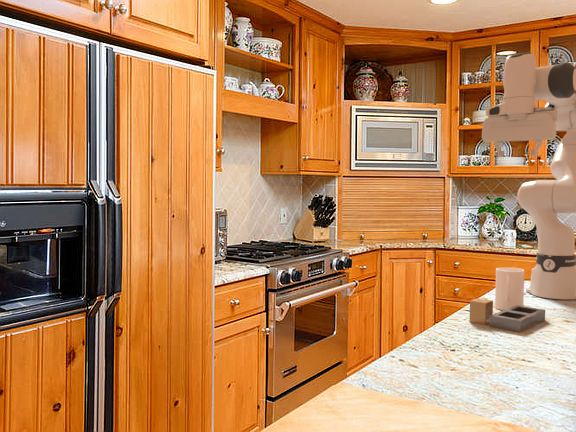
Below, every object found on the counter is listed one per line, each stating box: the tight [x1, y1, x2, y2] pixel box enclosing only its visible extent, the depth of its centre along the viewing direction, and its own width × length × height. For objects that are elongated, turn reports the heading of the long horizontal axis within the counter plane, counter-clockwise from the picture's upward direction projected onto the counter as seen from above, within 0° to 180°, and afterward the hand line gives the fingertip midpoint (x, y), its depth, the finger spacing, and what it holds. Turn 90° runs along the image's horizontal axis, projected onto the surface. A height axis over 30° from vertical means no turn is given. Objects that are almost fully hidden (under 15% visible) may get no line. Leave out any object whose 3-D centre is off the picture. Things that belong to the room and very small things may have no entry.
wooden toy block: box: [469, 297, 494, 326], centre depth 152 cm, size 4×4×6 cm
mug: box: [493, 266, 525, 311], centre depth 167 cm, size 12×8×12 cm
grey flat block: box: [489, 305, 546, 333], centre depth 150 cm, size 17×8×3 cm, turn 135°
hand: (517, 156), depth 161 cm, fingers open, 8 cm apart
